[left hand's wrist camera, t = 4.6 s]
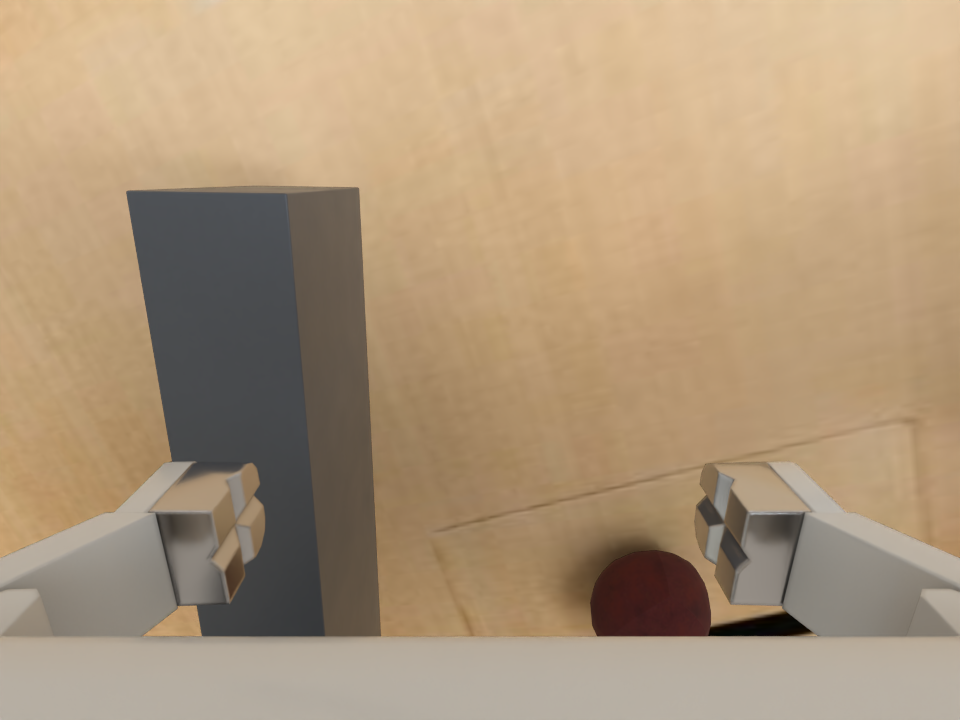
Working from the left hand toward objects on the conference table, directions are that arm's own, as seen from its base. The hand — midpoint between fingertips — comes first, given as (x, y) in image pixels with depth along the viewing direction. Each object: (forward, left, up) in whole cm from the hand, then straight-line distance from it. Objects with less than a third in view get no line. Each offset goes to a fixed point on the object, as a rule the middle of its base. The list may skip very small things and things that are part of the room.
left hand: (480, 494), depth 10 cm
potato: (-22, +7, -24) cm, 34 cm away
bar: (0, +12, -17) cm, 21 cm away
